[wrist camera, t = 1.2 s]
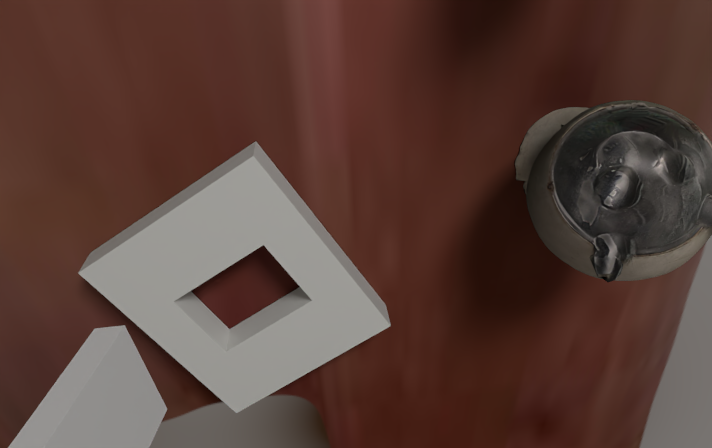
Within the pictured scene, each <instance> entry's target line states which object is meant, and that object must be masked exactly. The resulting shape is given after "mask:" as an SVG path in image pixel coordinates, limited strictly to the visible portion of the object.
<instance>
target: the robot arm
mask: <svg viewBox="0 0 712 448" xmlns="http://www.w3.org/2000/svg"><path fill="white" fill-rule="evenodd" d="M166 411H167V408H166V406H165V404H164V402H163V400H162V398H161V396H160V394H159V392H158V390H157V388H156V386H155V384H154V382H153V380H152V378H151V376H150V374H149V372H148V370H147V368H146V366H145V364H144V362H143V360H142V358H141V356H140V355H139V353H138V351H137V349H136V347H135V345H134V343H133V341H132V339H131V337H130V335H129V333H128V331H127V329H126V327H125V325H124V326H115V327H105V328H96V329H94V330H93V332H92V333H91V334H90V336H89V337H88V338H87V340H86V341H85V343H84V344H83V345H82V347H81V348H80V350H79V351H78V352H77V354H76V355H75V356H74V358H73V359H72V361H71V362H70V363H69V365H68V366H67V367H66V369H65V370H64V372H63V373H62V374H61V376H60V377H59V378H58V380H57V381H56V383H55V384H54V385H53V387H52V388H51V389H50V391H49V392H48V394H47V395H46V396H45V398H44V399H43V400H42V402H41V403H40V405H39V406H38V407H37V409H36V410H35V412H34V413H33V414H32V416H31V417H30V418H29V420H28V421H27V423H26V424H25V425H24V427H23V428H22V429H21V431H20V432H19V434H18V435H17V436H16V438H15V439H14V440H13V442H12V443H11V445H10V446H9V447H8V448H149V447H150V445H151V443H152V440H153V438H154V436H155V434H156V432H157V430H158V428H159V425H160V423H161V421H162V419H163V417H164V415H165V413H166Z"/></svg>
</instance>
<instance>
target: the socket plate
mask: <svg viewBox="0 0 712 448" xmlns="http://www.w3.org/2000/svg"><path fill="white" fill-rule="evenodd" d="M263 245H264V246H265V247H266V249H267V250H268V251H269V252H270V253H271V254H272V255H273V256H274V258H275V259H276V260H277V261H278V262H279V263H280V264H281V266H282V267H283V268H284V269H285V270H286V271H287V272H288V274H289V275H290V276H291V277H292V278H293V279H294V280H295V282H296V283H297V284H298V285H299V286H300V287H299V288H297V289H296V290H294V291H292V292H291V293H289V294H287V295H286V296H284V297H282V298H281V299H279V300H277V301H276V302H274V303H272V304H271V305H269V306H267V307H266V308H264V309H262V310H261V311H259V312H257V313H256V314H254V315H252V316H251V317H249V318H247V319H246V320H244V321H243V322H241V323H239V324H238V325H236V326H234V327H233V328H231V329H229V328H228V327H227V326H226V325H225V324H224V323H223V322H222V321H221V320H220V319H219V318H218V317H217V316H215V315H214V314H213V313H212V312H211V311H210V310H209V309H208V308H207V307H206V306H205V305H204V304H203V303H202V302H201V301H200V300H199V299H198V298H197V297H196V296H195V295H194V294H193V293H192V292H191V290H193V289H194V288H196V287H198V286H199V285H201V284H202V283H204V282H206V281H207V280H209V279H210V278H212V277H213V276H215V275H217V274H218V273H220V272H221V271H223V270H225V269H226V268H228V267H229V266H231V265H232V264H234V263H236V262H237V261H239V260H240V259H242V258H244V257H245V256H247V255H248V254H250V253H252V252H253V251H255V250H256V249H258V248H259V247H261V246H263ZM78 273H79V274H80V275H81V276H82V277H83V278H84V279H85V280H87V281H88V282H89V283H90V284H91V285H92V286H93V287H94V288H96V289H97V290H98V291H99V292H100V293H101V294H102V295H103V296H105V297H106V298H107V299H108V300H109V301H110V302H111V303H112V304H114V305H115V306H116V307H117V308H118V309H119V310H120V311H121V312H123V313H124V314H125V315H126V316H127V317H128V318H129V319H131V320H132V321H133V322H134V323H135V324H136V325H137V326H138V327H140V328H141V329H142V330H143V331H144V332H145V333H146V334H147V335H149V336H150V337H151V338H152V339H153V340H154V341H155V342H156V343H158V344H159V345H160V346H161V347H162V348H163V349H164V350H165V351H167V352H168V353H169V354H170V355H171V356H172V357H173V358H175V359H176V360H177V361H178V362H179V363H180V364H181V365H182V366H184V367H185V368H186V369H187V370H188V371H189V372H190V373H191V374H193V375H194V376H195V377H196V378H197V379H198V380H199V381H200V382H202V383H203V384H204V385H205V386H206V387H207V388H208V389H209V390H211V391H212V392H213V393H214V394H215V395H216V396H217V397H219V398H220V399H221V400H222V401H223V402H224V403H225V404H226V405H228V406H229V407H230V408H231V409H232V410H233V411H235V412H236V413H238V412H239V411H241V410H243V409H245V408H247V407H248V406H250V405H252V404H254V403H255V402H257V401H259V400H261V399H263V398H264V397H266V396H268V395H270V394H271V393H273V392H275V391H277V390H278V389H280V388H282V387H284V386H285V385H287V384H289V383H291V382H293V381H294V380H296V379H298V378H300V377H301V376H303V375H305V374H307V373H308V372H310V371H312V370H314V369H315V368H317V367H319V366H321V365H323V364H324V363H326V362H328V361H330V360H331V359H333V358H335V357H337V356H338V355H340V354H342V353H344V352H345V351H347V350H349V349H351V348H353V347H354V346H356V345H358V344H360V343H361V342H363V341H365V340H367V339H368V338H370V337H372V336H374V335H375V334H377V333H379V332H381V331H383V330H384V329H386V328H388V327H390V326H391V325H390V320H389V316H388V312H387V308H386V305H385V303H384V302H383V301H382V300H381V298H380V297H379V296H378V295H377V293H376V292H375V291H374V289H373V288H372V287H371V286H370V284H369V283H368V282H367V281H366V279H365V278H364V277H363V276H362V274H361V273H360V272H359V271H358V269H357V268H356V267H355V266H354V264H353V263H352V262H351V261H350V259H349V258H348V257H347V255H346V254H345V253H344V252H343V250H342V249H341V248H340V247H339V245H338V244H337V243H336V242H335V240H334V239H333V238H332V237H331V235H330V234H329V233H328V232H327V230H326V229H325V228H324V226H323V225H322V224H321V223H320V221H319V220H318V219H317V218H316V216H315V215H314V214H313V213H312V211H311V210H310V209H309V208H308V206H307V205H306V204H305V203H304V201H303V200H302V199H301V197H300V196H299V195H298V194H297V192H296V191H295V190H294V189H293V187H292V186H291V185H290V184H289V182H288V181H287V180H286V179H285V177H284V176H283V175H282V174H281V172H280V171H279V170H278V168H277V167H276V166H275V165H274V163H273V162H272V161H271V160H270V158H269V157H268V156H267V155H266V153H265V152H264V151H263V150H262V148H261V147H260V146H259V145H258V143H257V142H256V141H255V142H254V143H252V144H251V145H250V146H248V147H247V148H245V149H244V150H242V151H241V152H239V153H238V154H236V155H235V156H233V157H232V158H230V159H229V160H227V161H226V162H224V163H223V164H221V165H220V166H218V167H217V168H215V169H214V170H212V171H211V172H210V173H208V174H207V175H205V176H204V177H202V178H201V179H199V180H198V181H196V182H195V183H193V184H192V185H190V186H189V187H187V188H186V189H184V190H183V191H181V192H180V193H178V194H177V195H175V196H174V197H172V198H171V199H169V200H168V201H167V202H165V203H164V204H162V205H161V206H159V207H158V208H156V209H155V210H153V211H152V212H150V213H149V214H147V215H146V216H144V217H143V218H141V219H140V220H138V221H137V222H135V223H134V224H132V225H131V226H129V227H128V228H127V229H125V230H124V231H122V232H121V233H119V234H118V235H116V236H115V237H113V238H112V239H110V240H109V241H107V242H106V243H104V244H103V245H101V246H100V247H98V248H97V249H95V250H94V251H92V252H91V253H90V254H89V256H88V258H87V259H86V261H85V263H84V264H83V266H82V268H81V269H80V271H79V272H78Z"/></svg>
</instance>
